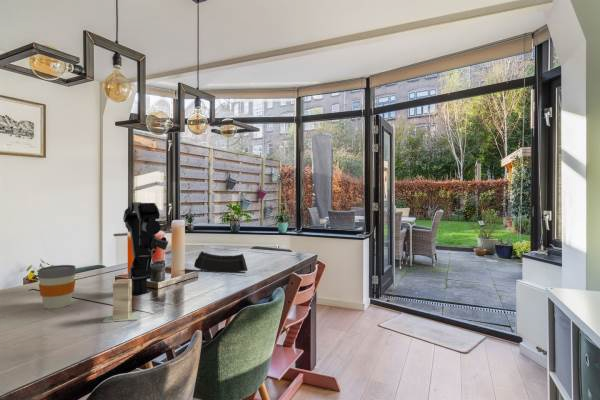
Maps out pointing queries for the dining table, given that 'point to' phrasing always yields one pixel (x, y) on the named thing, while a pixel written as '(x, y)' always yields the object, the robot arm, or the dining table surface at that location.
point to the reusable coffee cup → (57, 285)
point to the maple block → (122, 299)
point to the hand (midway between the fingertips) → (146, 269)
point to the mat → (132, 317)
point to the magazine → (220, 263)
